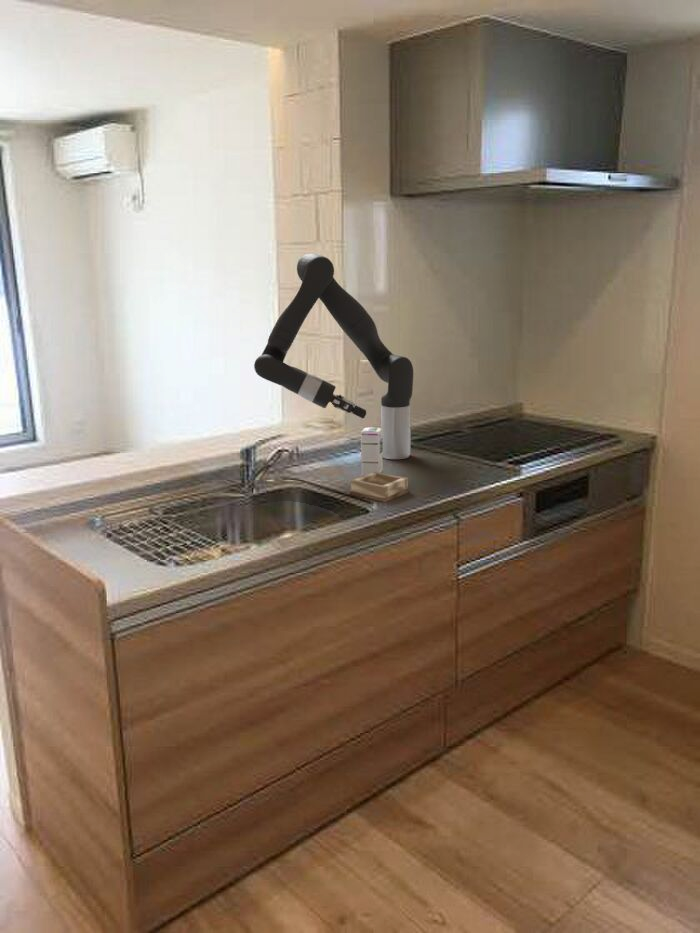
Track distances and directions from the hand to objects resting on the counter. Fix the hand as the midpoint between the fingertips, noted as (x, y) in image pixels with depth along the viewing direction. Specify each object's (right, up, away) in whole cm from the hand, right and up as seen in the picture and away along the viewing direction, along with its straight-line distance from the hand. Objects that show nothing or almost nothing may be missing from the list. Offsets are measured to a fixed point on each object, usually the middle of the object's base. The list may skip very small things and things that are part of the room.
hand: (365, 414), depth 236 cm
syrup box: (+2, -19, 0) cm, 19 cm away
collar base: (+4, -23, -17) cm, 29 cm away
